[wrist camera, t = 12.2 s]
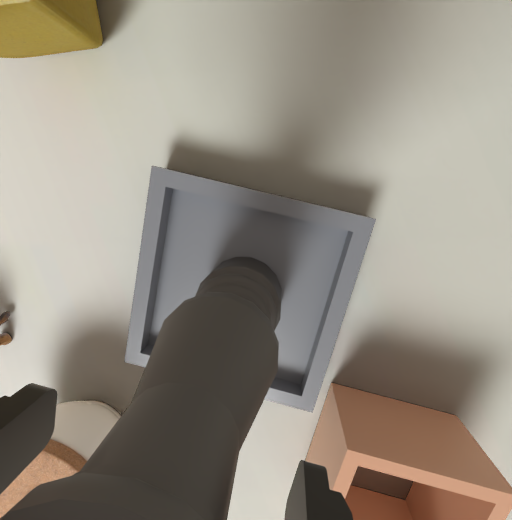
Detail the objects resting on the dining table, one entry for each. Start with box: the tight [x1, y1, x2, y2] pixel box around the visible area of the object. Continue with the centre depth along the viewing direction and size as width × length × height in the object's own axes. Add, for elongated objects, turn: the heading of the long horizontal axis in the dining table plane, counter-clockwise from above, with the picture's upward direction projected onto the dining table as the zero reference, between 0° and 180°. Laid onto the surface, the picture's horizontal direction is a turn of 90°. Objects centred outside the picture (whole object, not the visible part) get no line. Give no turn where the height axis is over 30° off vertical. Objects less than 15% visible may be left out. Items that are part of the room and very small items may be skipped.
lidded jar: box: [0, 400, 121, 518], centre depth 25 cm, size 11×11×9 cm
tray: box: [125, 166, 376, 413], centre depth 24 cm, size 16×16×2 cm
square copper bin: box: [305, 383, 512, 520], centre depth 24 cm, size 11×11×7 cm
